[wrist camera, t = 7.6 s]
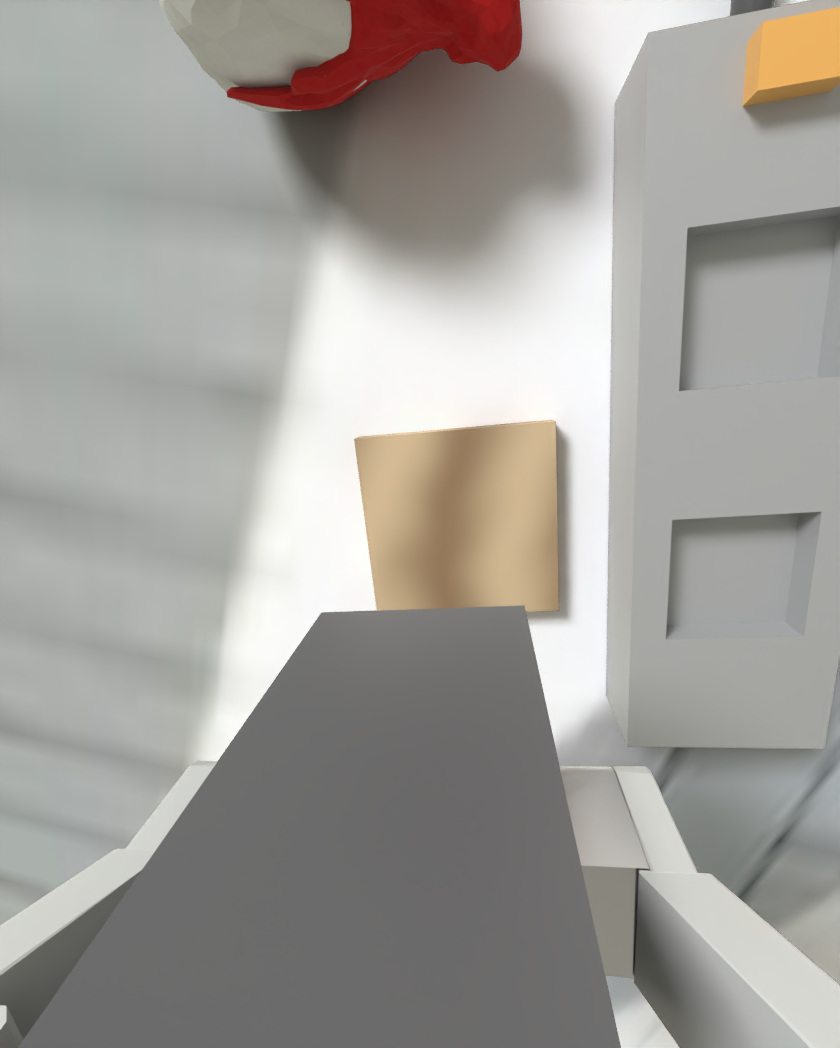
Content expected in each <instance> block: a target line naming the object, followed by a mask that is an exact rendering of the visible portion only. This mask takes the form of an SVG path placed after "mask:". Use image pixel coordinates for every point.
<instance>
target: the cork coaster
mask: <svg viewBox="0 0 840 1048" xmlns="http://www.w3.org/2000/svg"><path fill="white" fill-rule="evenodd" d="M354 441H355V449H356V456H357V464H358V471H359V479H360V486H361V494H362V501H363V509H364V516H365V524H366V532H367V539H368V547H369V554H370V562H371V569H372V577H373V584H374V592H375V599H376V607H377V611H381V610H409V609H437V608H465V607H493V606H521V605H524V606H525V611H526V612H533V611H559V584H558V523H557V463H556V421H554V420H546V421H534V422H523V423H511V424H500V425H489V426H477V427H466V428H454V429H443V430H431V431H420V432H409V433H397V434H386V435H374V436H363V437H358V438H355V439H354Z"/></svg>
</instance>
